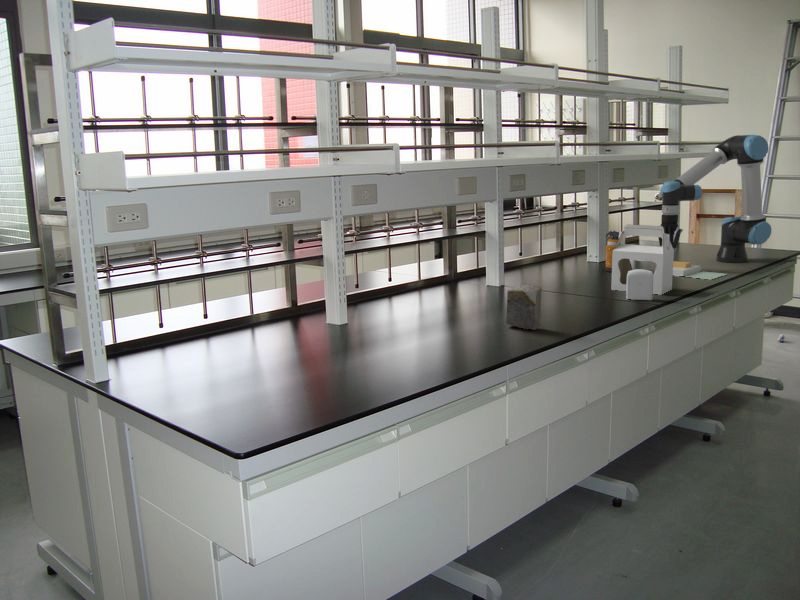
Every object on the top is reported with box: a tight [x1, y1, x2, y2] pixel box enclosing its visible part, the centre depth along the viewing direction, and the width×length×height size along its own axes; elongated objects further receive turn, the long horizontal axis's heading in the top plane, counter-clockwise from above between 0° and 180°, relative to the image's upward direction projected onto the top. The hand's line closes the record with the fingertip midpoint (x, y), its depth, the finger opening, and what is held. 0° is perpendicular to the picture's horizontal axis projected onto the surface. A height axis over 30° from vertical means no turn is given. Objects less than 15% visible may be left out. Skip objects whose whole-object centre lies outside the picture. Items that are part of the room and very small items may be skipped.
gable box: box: [610, 224, 675, 296], centre depth 312 cm, size 22×13×28 cm, turn 52°
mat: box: [684, 270, 728, 281], centre depth 343 cm, size 18×12×1 cm, turn 133°
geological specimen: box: [505, 284, 542, 331], centre depth 254 cm, size 11×6×15 cm, turn 56°
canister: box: [604, 230, 620, 273], centre depth 360 cm, size 9×11×20 cm
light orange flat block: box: [673, 260, 692, 268], centre depth 353 cm, size 9×6×2 cm, turn 43°
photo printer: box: [625, 268, 654, 301], centre depth 295 cm, size 10×4×12 cm, turn 72°
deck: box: [654, 264, 702, 277], centre depth 353 cm, size 18×14×3 cm
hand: (667, 262), depth 357 cm, fingers closed
